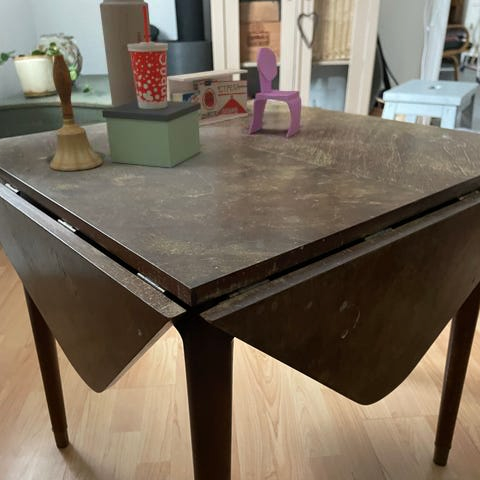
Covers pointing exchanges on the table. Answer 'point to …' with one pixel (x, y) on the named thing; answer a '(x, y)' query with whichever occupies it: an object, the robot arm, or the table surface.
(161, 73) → the beverage cup
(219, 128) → the table surface
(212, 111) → the cigarette display
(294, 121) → the toy chair
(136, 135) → the storage box
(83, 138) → the hand bell
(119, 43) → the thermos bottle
